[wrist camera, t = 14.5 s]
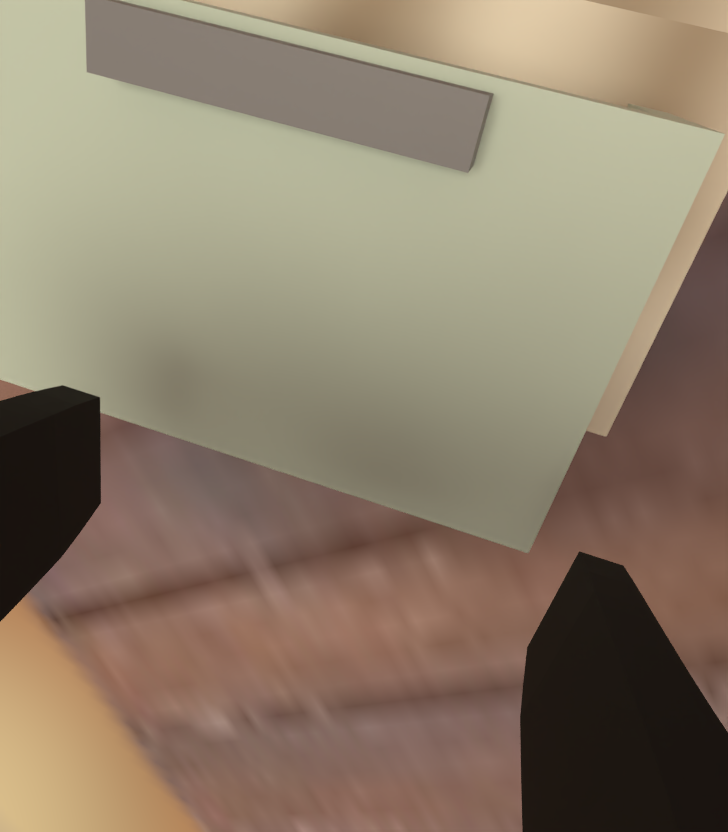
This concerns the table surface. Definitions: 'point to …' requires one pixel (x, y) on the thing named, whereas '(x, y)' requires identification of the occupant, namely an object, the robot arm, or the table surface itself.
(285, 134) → the slide cover
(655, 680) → the robot arm
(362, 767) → the table surface
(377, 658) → the table surface
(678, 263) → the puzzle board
